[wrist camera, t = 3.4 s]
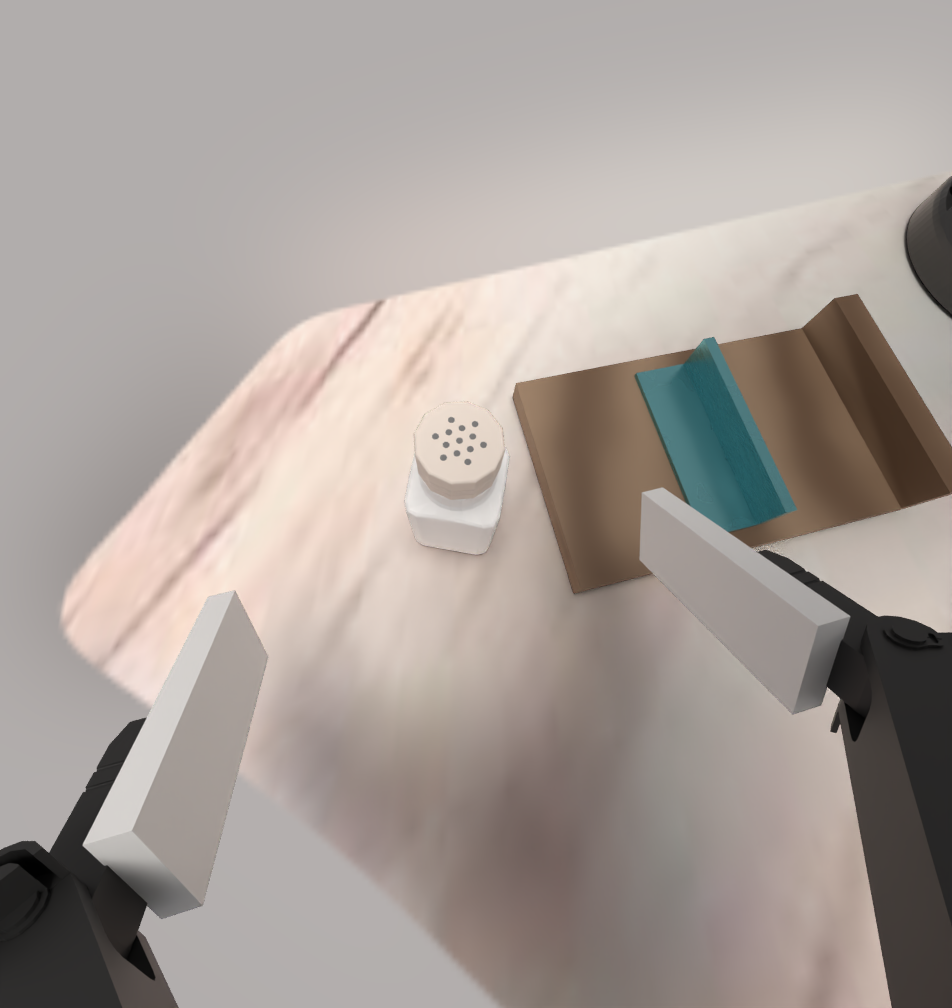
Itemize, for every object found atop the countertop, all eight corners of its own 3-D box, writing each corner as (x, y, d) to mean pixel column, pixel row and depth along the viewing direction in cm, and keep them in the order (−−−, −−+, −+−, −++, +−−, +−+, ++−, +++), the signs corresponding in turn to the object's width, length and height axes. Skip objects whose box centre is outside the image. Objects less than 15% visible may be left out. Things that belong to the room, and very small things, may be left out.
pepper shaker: (498, 489, 25) (524, 400, 16) (486, 558, 24) (508, 505, 15) (428, 476, 25) (414, 381, 16) (412, 545, 24) (389, 484, 15)
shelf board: (804, 339, 29) (857, 294, 25) (899, 510, 26) (976, 486, 22) (512, 397, 27) (522, 356, 23) (573, 593, 23) (597, 583, 20)
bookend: (690, 364, 26) (714, 337, 24) (762, 523, 24) (797, 510, 21) (634, 376, 26) (652, 348, 24) (700, 539, 23) (729, 527, 21)
